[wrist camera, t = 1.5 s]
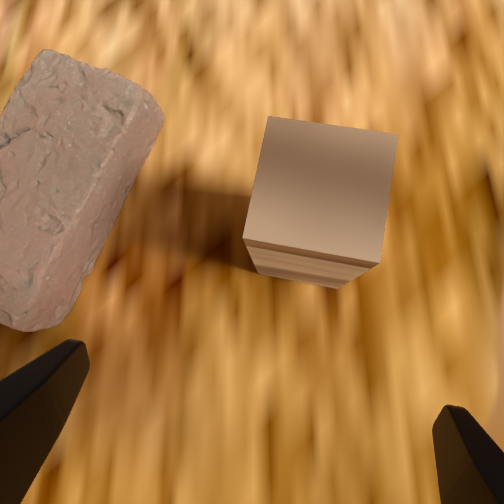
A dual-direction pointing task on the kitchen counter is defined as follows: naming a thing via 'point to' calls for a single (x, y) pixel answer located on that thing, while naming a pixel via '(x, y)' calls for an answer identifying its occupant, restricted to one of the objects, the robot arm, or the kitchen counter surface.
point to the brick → (64, 180)
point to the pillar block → (319, 201)
